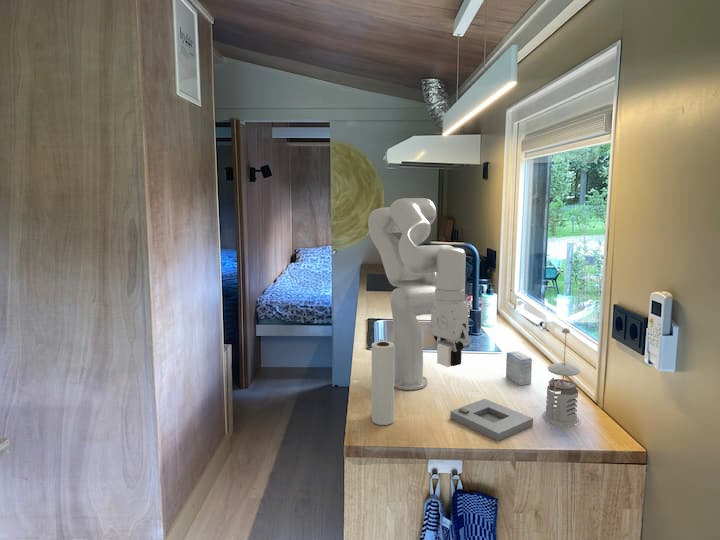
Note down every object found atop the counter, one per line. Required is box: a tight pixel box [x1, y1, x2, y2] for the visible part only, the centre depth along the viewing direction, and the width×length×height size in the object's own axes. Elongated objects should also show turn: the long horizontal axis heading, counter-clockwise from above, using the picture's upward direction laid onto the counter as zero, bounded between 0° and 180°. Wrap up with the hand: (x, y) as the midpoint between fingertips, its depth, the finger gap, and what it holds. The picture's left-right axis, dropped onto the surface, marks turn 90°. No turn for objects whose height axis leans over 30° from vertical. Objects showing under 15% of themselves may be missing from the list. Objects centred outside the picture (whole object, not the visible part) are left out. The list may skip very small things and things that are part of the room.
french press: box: [541, 327, 581, 427], centre depth 134 cm, size 10×12×25 cm
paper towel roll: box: [371, 338, 395, 426], centre depth 134 cm, size 7×6×21 cm
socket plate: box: [449, 398, 534, 442], centre depth 134 cm, size 16×14×3 cm
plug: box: [436, 339, 463, 368], centre depth 134 cm, size 4×5×6 cm
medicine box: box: [505, 350, 533, 386], centre depth 163 cm, size 8×4×9 cm, turn 16°
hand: (449, 362), depth 135 cm, fingers closed on plug, 4 cm apart
